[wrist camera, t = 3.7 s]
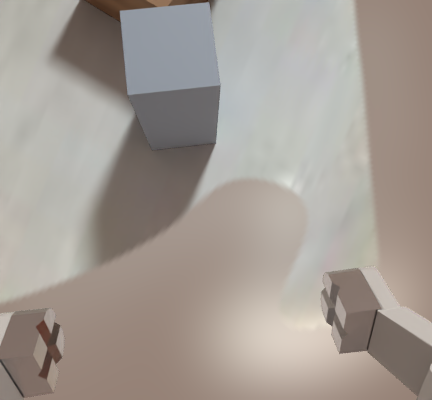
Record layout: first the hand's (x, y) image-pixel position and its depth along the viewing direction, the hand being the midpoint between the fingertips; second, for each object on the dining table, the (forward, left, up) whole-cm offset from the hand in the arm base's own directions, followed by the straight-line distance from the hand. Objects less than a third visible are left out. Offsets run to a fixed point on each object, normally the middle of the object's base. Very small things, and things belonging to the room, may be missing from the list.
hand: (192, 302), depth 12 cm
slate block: (+8, +8, -15) cm, 19 cm away
